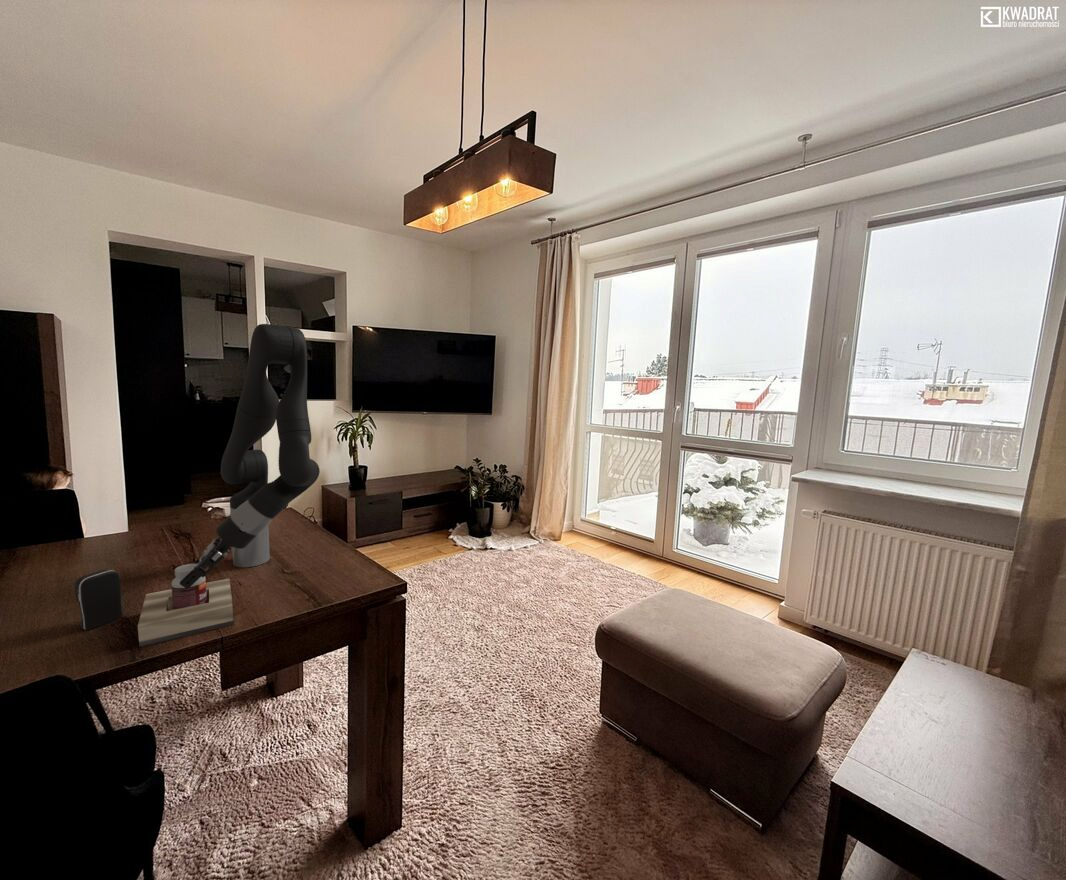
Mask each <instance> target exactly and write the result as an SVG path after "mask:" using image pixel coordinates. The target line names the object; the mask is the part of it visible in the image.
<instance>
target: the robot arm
mask: <svg viewBox="0 0 1066 880" xmlns="http://www.w3.org/2000/svg"><path fill="white" fill-rule="evenodd" d="M307 347H308V346H307V340H306V337H305V334H304V333H303V331H302V330H301V329H300V328H298V327H293V326H285V325H277V324H271V323H259V324H257V326H256V327H255V328H254V330H253V332H252V336H251V340H250V346H249V353H248V361H247V367H246V373H245V378H244V382H243V386H242V390H241V393H240V396H239V399H238V400H239V401H238V404H237V408H236V411H235V412H236V413H235V417H234V422H233V426H232V431H231V433H230V437H229V439H228V442H227V445H226V447H225V450H224V452H223V455H222V459H221V463H220V475H221V479H222V480H223V481H224V483H226V484H228V485H238V484H239V485H241V484H246V483H249V484H248V485H247V486H246V487H245V488H244V489H242V490H241V491H239V492H237V493H235V494H233V495H232V496H231V497H230V498H229V512H230V514H228V515H227V516H226V518H225V519H224V520H223V521H222V522H221V523H219V524H218V525H217V527H216V530H215V531H216V535H217V537H216V538H214V539H213V540H212V541H211V542H210V543H209V544H208V546H207V547H205V549H204V551H202V554H201V555H200V556H199V557H197V559H196V560H194V562H192V564H197V565H196V566H195V567H194V569H193V570H192V571H191V572H190V573H189V574H187V575H186V576H185V577H184V578H183V579H182V580H181V581H180V585H182V586H183V587H185V588H190V587H191V586H192V585H193V584H194V583H195V582H196V581H197V580H198V579H199V578H200V577H204V576H205V577H206V576H207V574H209V573H210V572H211V571H212V570H213V569H214V568H215V567H216V566H218V564H219V563H220V562H221V561H222V560H223V559H224V558H226V557H227V556H228V554H229V553H230V550H232V565H233V566H234V567H237V568H250V567H252V568H253V567H256V566H260V565H264V564H266V563H268V562H269V561H270V557H271V556H270V535H269V532H270V531H269V524H270V523H271V522H272V521H273V520H274V519H275V518H276V517H277V516H278V515H279V514H280V513H281V512H282V511H283V510H284V509H285V508H286V507H287V506H288V504H290V503H291V502H293V500H295V499H296V498H298V497H299V496H300V495H302V494H303V493H304V492H306V491H307V490H308V489H309V488H311V486H313V485H314V484H315V482H317V480H318V478H319V476H320V473H321V471H320V466H319V464H318V463H317V462H316V461H315V460H314V459H311V457H310V446H309V445H310V444H311V443H312V431H311V429H312V428H311V423H310V418H309V411H308V348H307ZM270 364H276V365H277V364H278V365H289V370H290V376H289V377H290V378H289V382H288V384H287V387H286V389H285V390H284V393H283V394H282V396H281V398H279V396H278V394H277V392H276V391H275V389H274V388H273V385H272V384H271V383H270V381H269V380H270V379H269V378H268V375H267V369H268V366H269V365H270ZM275 423H276V428H277V436H278V440H279V445H278V446H279V447H278V471H279V476H278V477H276V479H274V480H272V481H269V463H268V462H269V461H268V459H267V454H266V453H265V452H264V451H263V450H261V449H251V447H253V446H254V445H255V444H256V443H257V442H259V441H260V440H261V439H262V438H263V437H265V436H266V435H267V434H268V433H269V432H270V431H271V430H272V428H273V427H274V425H275ZM249 449H250V450H249ZM206 566H207V567H206ZM204 567H206V568H205V569H204Z"/></svg>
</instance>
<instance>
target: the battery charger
mask: <svg viewBox="0 0 1066 880" xmlns="http://www.w3.org/2000/svg"><path fill="white" fill-rule="evenodd" d="M74 598H75V602H77V603H78V605H79V611H80V617H81V621H80V627H81V628H82V629H83V630H84V631H86V630H87V631H89V630H91V629H94V628H97V627H101V626H103V625H105V624H108V623H110V622H112V621H114V620H117V619H119V618H121V617H122V616H124V615H123V607H122V606H123V605H122V588H121V578H120V575H119V573H118V572H117V571H116V570H113V569H112V570H111V569H102V570H99V571H96V572H92V573H89V574H86V575H83V576H81V577H80V576H79V578H78V579H76V581H75V582H74Z"/></svg>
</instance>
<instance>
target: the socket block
mask: <svg viewBox="0 0 1066 880" xmlns="http://www.w3.org/2000/svg"><path fill="white" fill-rule="evenodd" d="M206 595H207V603H205V604H200V605H195V606H190V607H186V608H181V609H176V610H173V601H172V588H171V589H165V590H160V591H155V592H151V593H145V597H144V601H143V604H142V609H141V612H140V616H139V620H138V624H137V633H138V642H139V643H138V645H139V648H141V647H144V646H145V647H146V646H149V645H153V644H158V643H161V642H166V641H171V640H175V639H178V638H179V639H180V638H183V637H187V636H191V635H195V634H196V635H197V634H199V633H204V632H209V631H212V630H216V629H220V628H225V627H230V626H233V625H234V612H233V610H234V609H233V597H232V590H231V580H230V578H225V579H219V580H214V581H209V582H206Z"/></svg>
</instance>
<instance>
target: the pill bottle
mask: <svg viewBox="0 0 1066 880" xmlns="http://www.w3.org/2000/svg"><path fill="white" fill-rule="evenodd" d="M196 565H197V564H193V563H187V564H183V565H180V566H177V567H176V568H175V569H174V576H175V577H174V578H173V579H172V581H171V589H172V601H173V610H176V609H181V608H186V607H190V606H195V605H200V604H205V603H207V595H206V583H207V582H206V580H207V579H206V576H204V577H200V578H199V579H198V580H197V581H196V582H195V583H194V584H193V585H192V586H191V587H190V588H185V587H183V586H182V585H180V581H181V580H182V579H183V578H184V577H185V576H186V575H187V574H189V573H190V572H191V571H192V570H193V569H194V567H195V566H196Z"/></svg>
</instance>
